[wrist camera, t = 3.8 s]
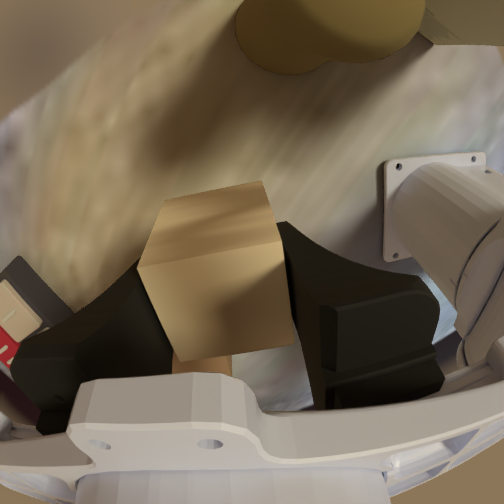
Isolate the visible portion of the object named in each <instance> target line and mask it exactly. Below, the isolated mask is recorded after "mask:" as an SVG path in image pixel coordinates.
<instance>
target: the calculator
mask: <svg viewBox="0 0 504 504" xmlns="http://www.w3.org/2000/svg"><path fill="white" fill-rule="evenodd" d="M74 314H75V313H74V312H73V311H72V310H71V309H70V308H69V307H68V306H67V305H66V304H65V303H64V302H63V301H62V300H61V299H60V298H59V297H58V296H57V295H56V294H55V293H54V292H53V291H52V290H51V289H50V287H49V286H48V285H47V284H46V283H45V282H44V281H43V280H42V279H41V278H40V277H39V276H38V275H37V273H36V272H35V271H34V270H33V269H32V268H31V267H30V266H29V264H28V263H27V262H26V261H25V260H24V259H23V258H22V257H21V256H17V257H16V258H15V259H14V260H13V261H12V262H11V263H10V264H9V265H8V266H7V267H6V268H5V269H4V270H3V271H2V272H1V273H0V360H1V361H2V362H3V363H4V364H5V365H6V366H7V367H8V368H9V369H10V365H11V362H12V360H13V358H14V356H15V354H16V352H17V350H18V348H19V346H20V344H21V342H22V341H23V340H25V339H27V338H30V337H32V336H34V335H36V334H39V333H41V332H43V331H45V330H47V329H49V328H51V327H53V326H55V325H57V324H59V323H60V322H62V321H64V320H66V319H67V318H69V317H71V316H72V315H74Z"/></svg>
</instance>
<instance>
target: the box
mask: <svg viewBox="0 0 504 504" xmlns="http://www.w3.org/2000/svg"><path fill="white" fill-rule="evenodd" d="M418 32H420V33H421V34H422V35H423V36H425V37H426V38H427V39H429V40H430V41H431V42H432V43H434V44H435V45H491V46H504V0H425V11H424V14H423V18H422V21H421V25H420V28H419V30H418Z"/></svg>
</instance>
